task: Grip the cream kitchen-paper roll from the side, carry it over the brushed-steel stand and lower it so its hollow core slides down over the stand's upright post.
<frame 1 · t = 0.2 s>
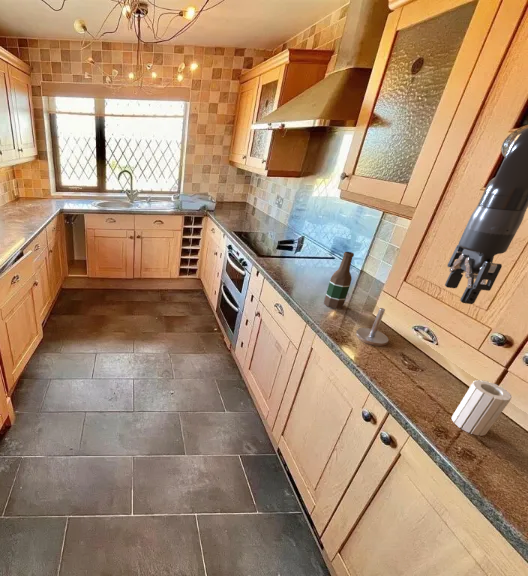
hand: (457, 294, 73), 32 cm above the countertop, tool pointing down, fingers open, 8 cm apart
beer bottle: (333, 305, 133), on the countertop
towel stand: (371, 338, 111), on the countertop
paper roll: (468, 424, 78), on the countertop
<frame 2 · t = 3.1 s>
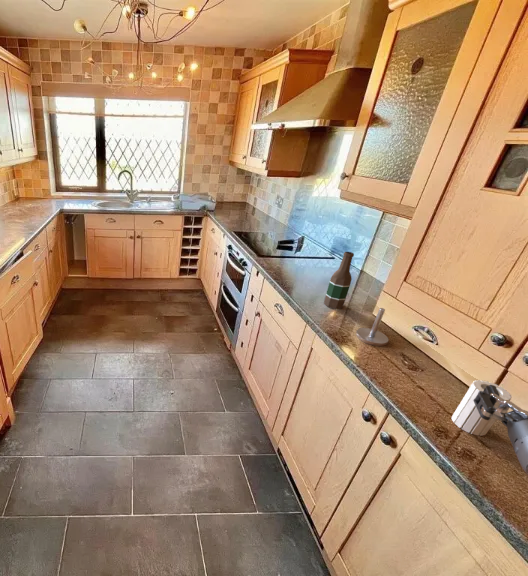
hand: (519, 397, 62), 18 cm above the countertop, tool horizontal, fingers open, 8 cm apart
nothing on the countertop moved.
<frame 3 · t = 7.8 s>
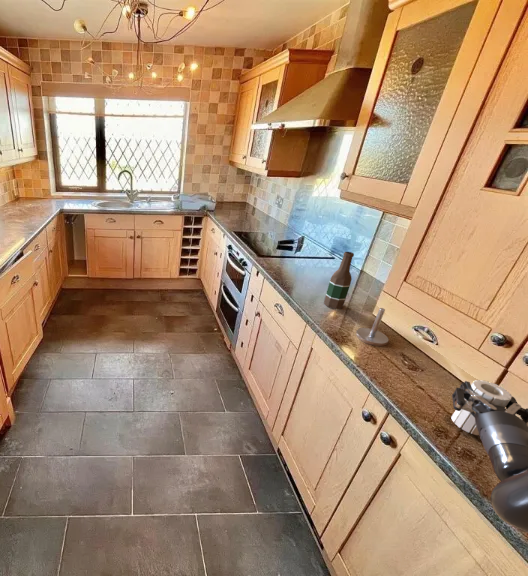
hand: (484, 389, 75), 10 cm above the countertop, tool horizontal, fingers closed on paper roll, 6 cm apart
paper roll: (468, 424, 78), on the countertop, touching gripper
everything else where it was.
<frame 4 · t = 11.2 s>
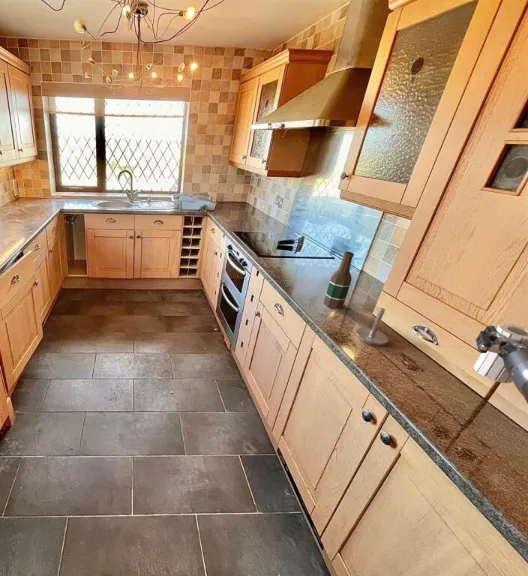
hand: (511, 333, 70), 26 cm above the countertop, tool horizontal, fingers closed on paper roll, 6 cm apart
paper roll: (492, 373, 72), point 16 cm above the countertop, touching gripper
everything else where it was.
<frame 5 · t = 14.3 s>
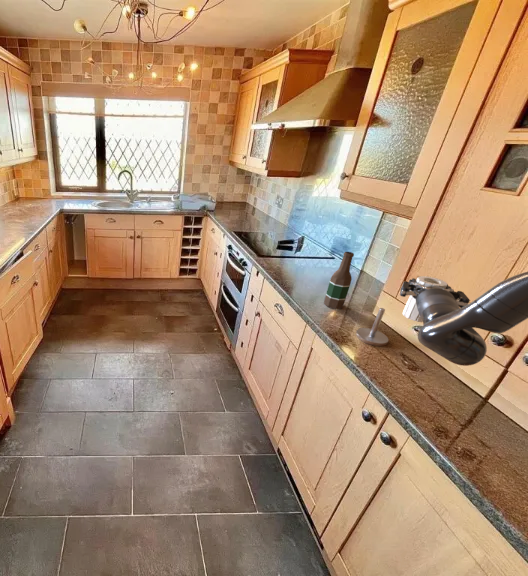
hand: (428, 284, 90), 27 cm above the countertop, tool horizontal, fingers closed on paper roll, 6 cm apart
paper roll: (415, 316, 92), point 17 cm above the countertop, touching gripper
everything else where it was.
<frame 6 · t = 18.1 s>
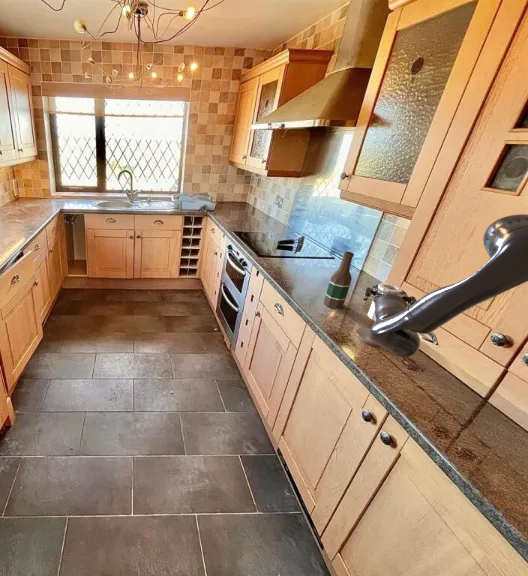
hand: (388, 290, 105), 19 cm above the countertop, tool horizontal, fingers closed on paper roll, 6 cm apart
paper roll: (378, 317, 107), point 9 cm above the countertop, touching gripper
everything else where it was.
when the fingers open (11 cm above the countertop, at t = 21.0 s): paper roll stays where it is, resting on towel stand.
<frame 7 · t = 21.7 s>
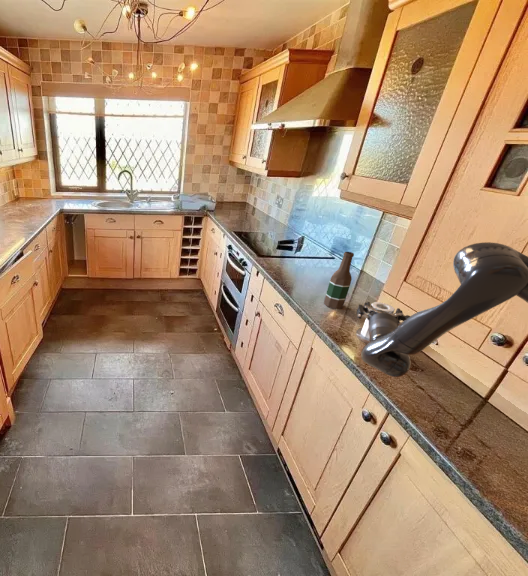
hand: (382, 307, 107), 12 cm above the countertop, tool horizontal, fingers open, 8 cm apart
paper roll: (371, 335, 111), point 1 cm above the countertop, touching towel stand
everything else where it was.
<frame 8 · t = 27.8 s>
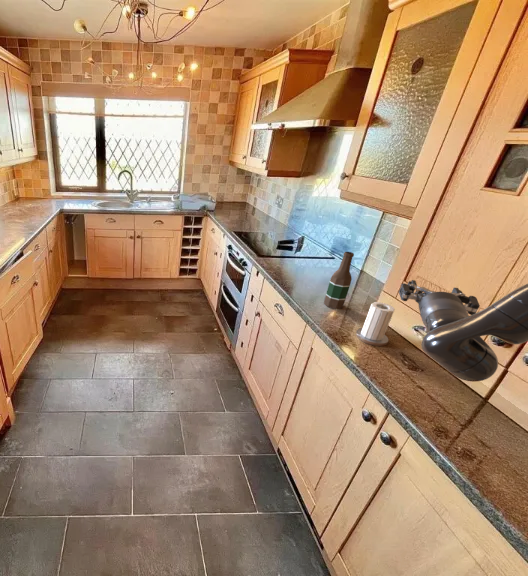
hand: (432, 287, 81), 30 cm above the countertop, tool horizontal, fingers open, 8 cm apart
nothing on the countertop moved.
at the end: paper roll 0.1 cm off-centre on the towel stand, point 1.2 cm above the towel stand's base; paper roll tilted 0° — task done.
